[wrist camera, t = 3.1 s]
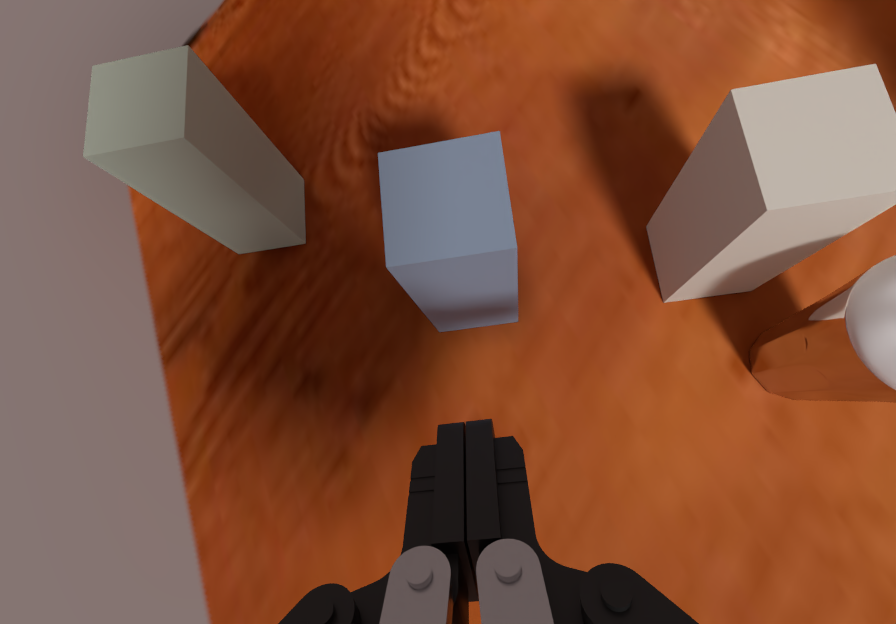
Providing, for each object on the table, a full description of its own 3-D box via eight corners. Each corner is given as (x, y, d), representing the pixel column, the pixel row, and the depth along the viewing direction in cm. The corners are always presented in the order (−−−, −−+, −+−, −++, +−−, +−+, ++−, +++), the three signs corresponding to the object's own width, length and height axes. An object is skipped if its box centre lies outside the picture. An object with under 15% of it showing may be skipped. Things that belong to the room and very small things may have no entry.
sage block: (304, 179, 27) (188, 45, 18) (305, 243, 26) (183, 137, 17) (239, 190, 28) (92, 65, 18) (238, 254, 27) (83, 156, 17)
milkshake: (798, 451, 20) (1046, 471, 11) (710, 351, 22) (859, 291, 12) (882, 390, 21) (1201, 356, 11) (789, 295, 22) (997, 191, 12)
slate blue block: (507, 247, 25) (499, 131, 15) (518, 321, 24) (517, 247, 14) (431, 258, 25) (377, 153, 16) (439, 332, 24) (386, 267, 14)
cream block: (729, 214, 23) (875, 63, 14) (751, 291, 22) (925, 186, 13) (646, 226, 24) (730, 89, 14) (663, 302, 23) (767, 210, 13)
